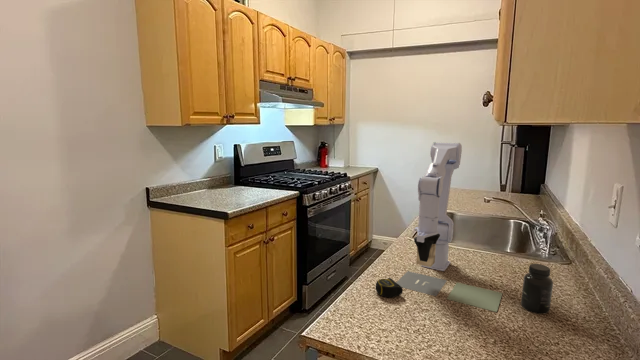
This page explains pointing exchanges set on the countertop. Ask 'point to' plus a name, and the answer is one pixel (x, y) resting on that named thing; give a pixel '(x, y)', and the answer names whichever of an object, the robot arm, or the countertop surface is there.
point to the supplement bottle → (537, 289)
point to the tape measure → (388, 288)
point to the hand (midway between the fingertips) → (426, 258)
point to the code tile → (421, 283)
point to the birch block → (430, 259)
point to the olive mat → (475, 296)
